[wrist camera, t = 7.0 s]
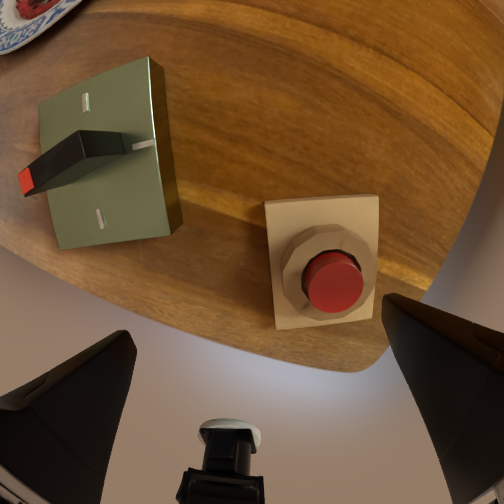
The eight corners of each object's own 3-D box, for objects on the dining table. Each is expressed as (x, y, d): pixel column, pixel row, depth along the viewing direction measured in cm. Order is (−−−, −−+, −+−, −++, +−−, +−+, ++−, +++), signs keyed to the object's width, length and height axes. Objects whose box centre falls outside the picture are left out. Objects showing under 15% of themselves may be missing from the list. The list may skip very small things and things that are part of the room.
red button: (354, 297, 19) (361, 309, 17) (305, 302, 19) (308, 316, 17) (356, 249, 17) (365, 259, 16) (303, 254, 18) (307, 265, 16)
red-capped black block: (119, 131, 15) (75, 129, 10) (125, 154, 15) (83, 157, 11) (60, 165, 15) (15, 173, 11) (66, 185, 16) (21, 198, 11)
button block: (367, 311, 22) (378, 331, 19) (275, 322, 23) (276, 344, 20) (372, 193, 19) (389, 200, 16) (264, 200, 19) (264, 209, 16)
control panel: (183, 223, 20) (170, 236, 17) (79, 238, 21) (58, 251, 18) (163, 67, 16) (147, 54, 13) (60, 106, 17) (36, 104, 14)
